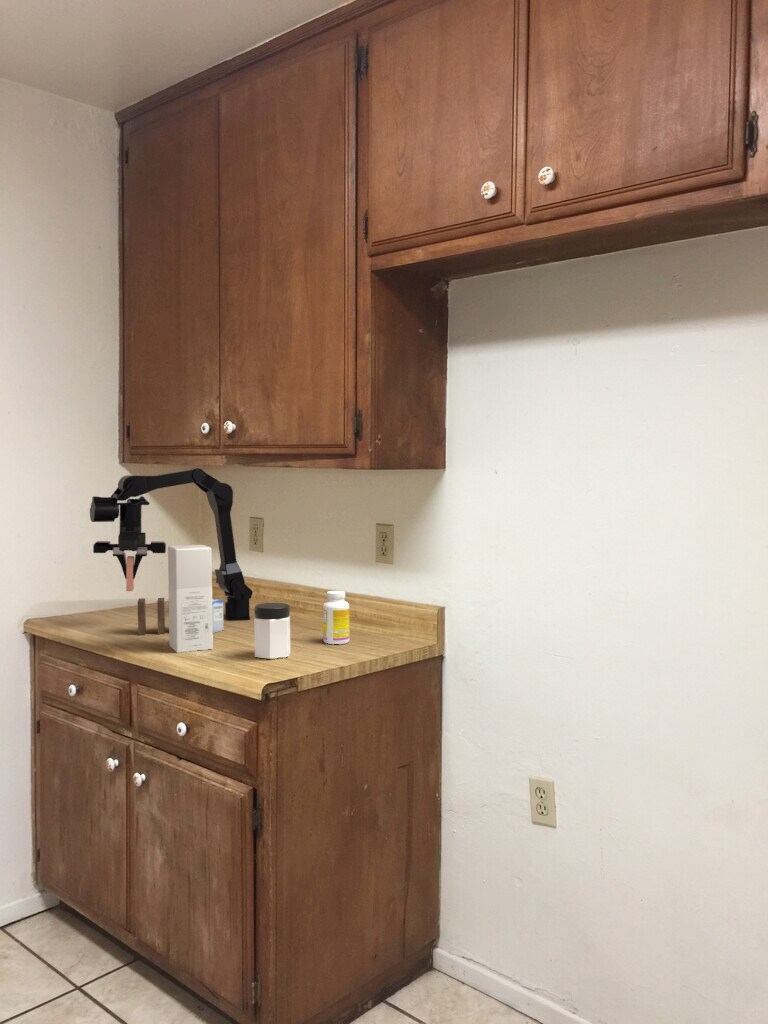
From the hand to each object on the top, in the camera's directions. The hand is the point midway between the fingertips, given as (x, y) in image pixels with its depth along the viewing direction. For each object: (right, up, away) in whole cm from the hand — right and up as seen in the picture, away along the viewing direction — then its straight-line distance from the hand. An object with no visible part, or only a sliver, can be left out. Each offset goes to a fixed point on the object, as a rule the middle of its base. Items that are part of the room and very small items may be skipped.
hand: (130, 578), depth 239 cm
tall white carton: (+22, -15, -23) cm, 35 cm away
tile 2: (+10, -14, -4) cm, 18 cm away
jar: (+43, -16, -32) cm, 56 cm away
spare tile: (0, -3, 0) cm, 3 cm away
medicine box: (+21, -14, -2) cm, 26 cm away
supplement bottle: (+57, -15, -17) cm, 61 cm away
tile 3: (+5, -14, -5) cm, 16 cm away
